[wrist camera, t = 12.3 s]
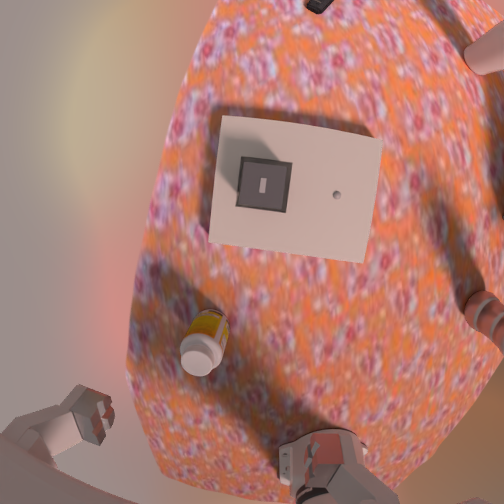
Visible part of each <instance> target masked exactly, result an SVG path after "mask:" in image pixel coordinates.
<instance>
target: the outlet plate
mask: <svg viewBox="0 0 504 504" xmlns="http://www.w3.org/2000/svg"><path fill="white" fill-rule="evenodd" d="M382 144H383V140H380V139H376V138H372V137H368V136H363V135H359V134H354V133H349V132H344V131H339V130H334V129H328V128H323V127H317V126H311V125H305V124H298V123H291V122H284V121H276V120H268V119H259V118H249V117H238V116H224V115H222V121H221V129H220V137H219V145H218V153H217V162H216V171H215V180H214V189H213V199H212V209H211V219H210V230H209V241H208V242H210V243H217V244H225V245H232V246H240V247H247V248H254V249H262V250H269V251H276V252H284V253H291V254H298V255H306V256H313V257H320V258H328V259H335V260H342V261H349V262H357V263H363V262H364V257H365V252H366V247H367V242H368V237H369V232H370V227H371V221H372V215H373V210H374V203H375V197H376V191H377V184H378V177H379V169H380V161H381V153H382ZM244 162H252V163H260V164H268V165H276V166H283V167H287V171H286V179H285V187H284V194H283V202H282V209H276V208H268V207H261V206H253V205H245V204H239V200H240V191H241V183H242V174H243V166H244Z"/></svg>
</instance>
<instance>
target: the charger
mask: <svg viewBox="0 0 504 504" xmlns="http://www.w3.org/2000/svg"><path fill="white" fill-rule="evenodd" d="M286 171H287V167H283V166H276V165H268V164H260V163H252V162H244V166H243V174H242V183H241V191H240V200H239V204H245V205H253V206H261V207H268V208H276V209H282V202H283V194H284V187H285V179H286Z"/></svg>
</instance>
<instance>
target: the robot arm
mask: <svg viewBox="0 0 504 504" xmlns="http://www.w3.org/2000/svg"><path fill="white" fill-rule="evenodd" d="M111 403H112V400H111V397H110V396H108V395H106V394H103V393H101V392H98V391H95V390H93V389H90V388H88V387H85V386H83V385H80V384H79V385H77V386H76V387H75V388H74V389H73V390H72V391H71V392H70V394H69V395H68V396H67V397H66V399H65V400H64V401H63V402H62V403H61V404H60V406H58V405H54V406H52V407H48V408H45V409H42V410H39V411H36V412H33V413H30V414H27V415H23V416H20V417H16V418H15V419H14V420H13V421H12V422H11V423H10V424H9V425H8V426H7V428H6V429H5V430H4V431H3V432H2V433H1V434H0V504H138V503H135V502H132V501H129V500H126V499H123V498H121V497H118V496H115V495H112V494H110V493H108V492H105V491H103V490H100V489H98V488H95V487H93V486H91V485H89V484H86V483H84V482H82V481H80V480H78V479H75V478H74V477H72V476H69V475H67V474H65V473H64V472H62V471H60V470H57V468H58V467H57V464H56V463H55V461H54V460H53V458H52V456H54V455H56V454H58V453H60V452H62V451H64V450H66V449H68V448H70V447H72V446H73V445H75V444H77V443H79V442H81V441H82V439H83V440H86V441H88V442H91V443H93V444H96V445H99V446H100V445H101V443H102V442H103V440H104V438H105V437H106V434H105V431H106V430H108V429H110V428H111V426H112V425H113V422H114V417H115V414H114V409H113V408H112V407H111V406H110V404H111ZM367 452H368V447H367V446H365V445H364V444H362V443H360V441H359V439H358V437H357V436H356V435H355V434H353V433H352V432H349V431H346V430H341V429H327V430H321V431H316V432H313V433H310V434H307V435H305V436H303V437H301V438H300V439H298V440H296V441H295V442H292V443H288V444H285V445H282V446H280V447H279V473H280V482H281V483H282V484H285V485H289V486H290V496H292V497H293V498H296V504H400V503H399V499H398V495H397V494H396V493H394V492H393V491H392V490H391V489H390V488H389V487H387V486H386V485H385V484H384V483H383V482H382V481H380V480H379V479H378V478H377V477H376V476H375V475H373V474H372V473H371V472H370V471H369V470H368V469H367V468H366V467H365V461H364V456H365V455H366V453H367ZM457 504H492V503H490V502H488V501H486V500H484V499H481V498H477V497H476V498H471V499H468V500H466V501H463V502H461V503H457Z"/></svg>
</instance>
